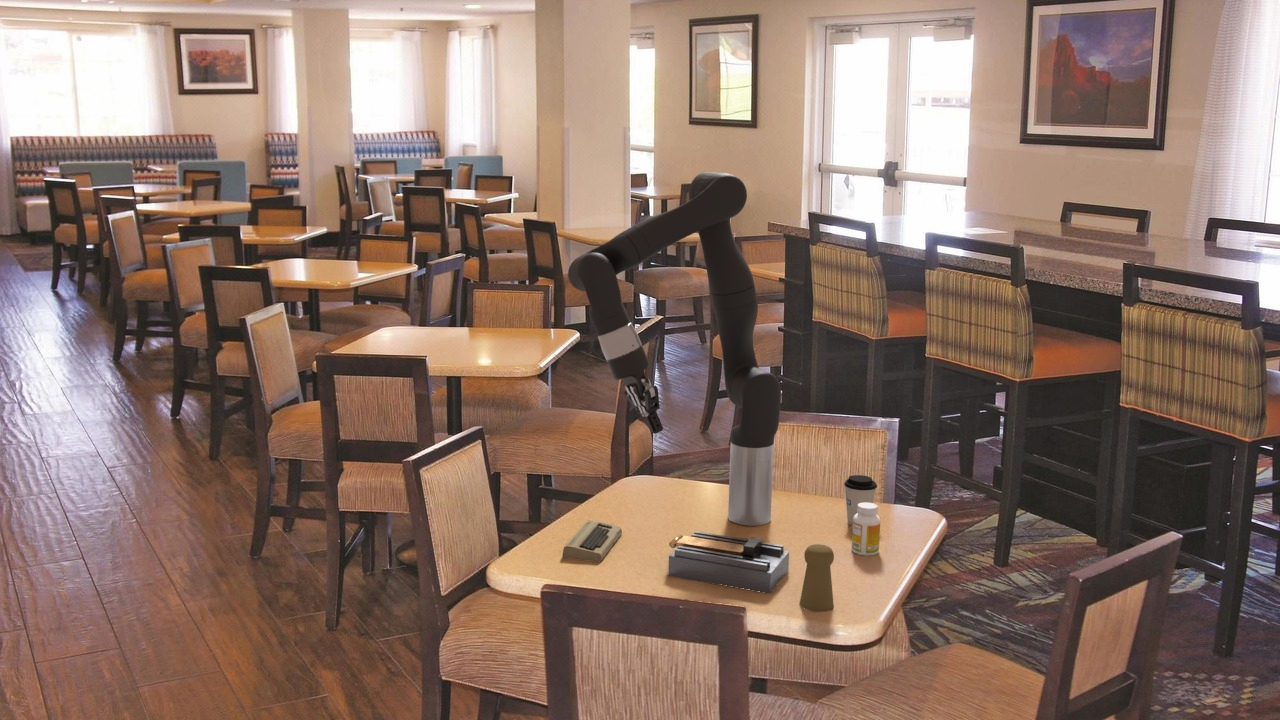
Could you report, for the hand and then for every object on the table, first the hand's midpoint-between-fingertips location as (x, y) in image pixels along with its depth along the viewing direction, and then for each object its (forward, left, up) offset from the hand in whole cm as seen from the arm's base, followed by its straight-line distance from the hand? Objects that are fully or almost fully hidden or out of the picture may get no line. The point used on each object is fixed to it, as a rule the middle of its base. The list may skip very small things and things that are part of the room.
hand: (657, 431), depth 229 cm
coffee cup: (-34, +33, -25) cm, 54 cm away
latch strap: (+5, +13, -21) cm, 25 cm away
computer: (+3, -12, -25) cm, 28 cm away
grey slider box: (+5, +17, -25) cm, 30 cm away
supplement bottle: (-18, +38, -25) cm, 49 cm away
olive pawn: (+12, +36, -25) cm, 45 cm away
